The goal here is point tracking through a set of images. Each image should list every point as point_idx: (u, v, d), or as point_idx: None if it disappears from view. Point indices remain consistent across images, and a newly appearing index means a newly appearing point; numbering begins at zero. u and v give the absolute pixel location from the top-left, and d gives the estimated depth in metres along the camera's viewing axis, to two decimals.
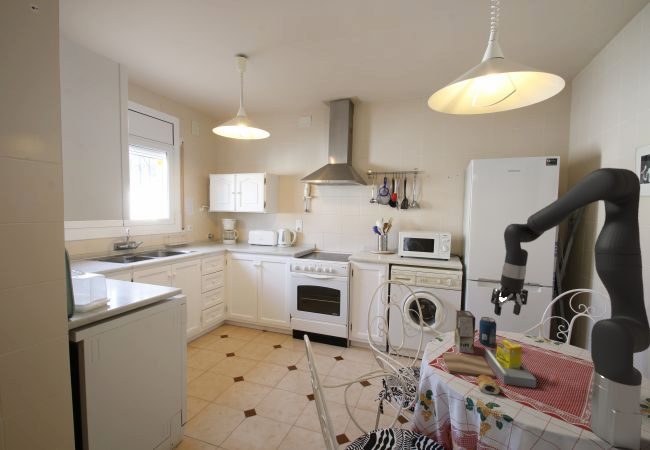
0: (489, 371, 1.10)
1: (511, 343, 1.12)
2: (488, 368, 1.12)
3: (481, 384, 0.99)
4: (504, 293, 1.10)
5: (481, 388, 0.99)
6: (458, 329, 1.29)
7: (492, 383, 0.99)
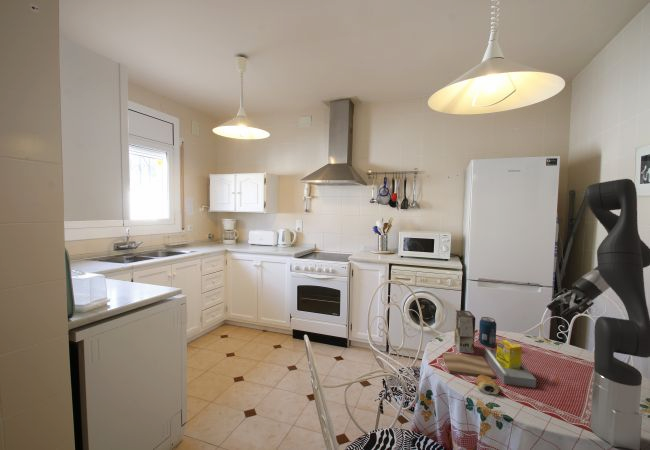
0: (489, 371, 1.10)
1: (511, 343, 1.12)
2: (488, 368, 1.12)
3: (480, 384, 0.99)
4: (567, 292, 1.10)
5: (480, 388, 0.99)
6: (458, 329, 1.29)
7: (491, 383, 0.99)
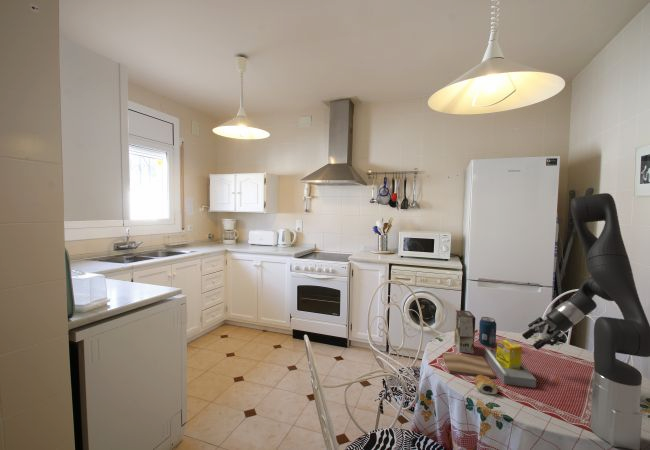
0: (489, 371, 1.10)
1: (511, 343, 1.12)
2: (488, 368, 1.12)
3: (479, 384, 0.99)
4: (542, 322, 1.13)
5: (479, 388, 0.99)
6: (458, 329, 1.29)
7: (490, 383, 0.99)
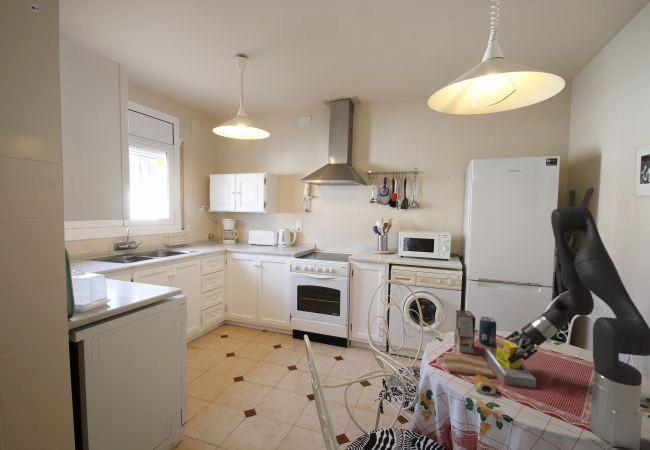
0: (489, 371, 1.10)
1: (511, 343, 1.12)
2: (488, 368, 1.12)
3: (478, 384, 0.99)
4: (517, 335, 1.15)
5: (478, 389, 0.98)
6: (458, 329, 1.29)
7: (488, 383, 0.99)
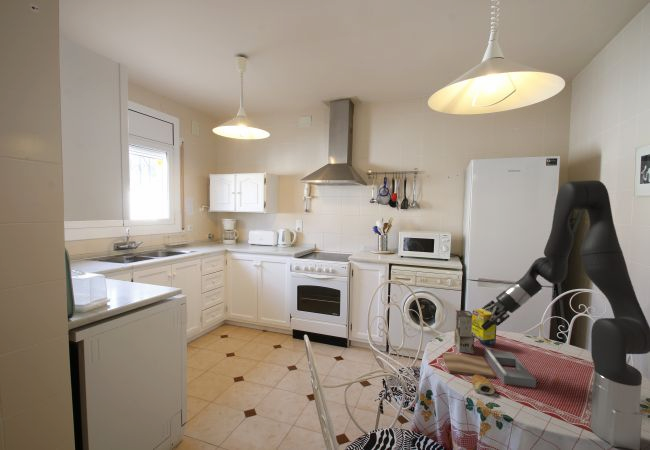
0: (489, 371, 1.10)
1: (486, 311, 1.14)
2: (488, 368, 1.12)
3: (476, 385, 0.99)
4: None
5: (477, 389, 0.98)
6: (458, 329, 1.29)
7: (487, 383, 0.98)
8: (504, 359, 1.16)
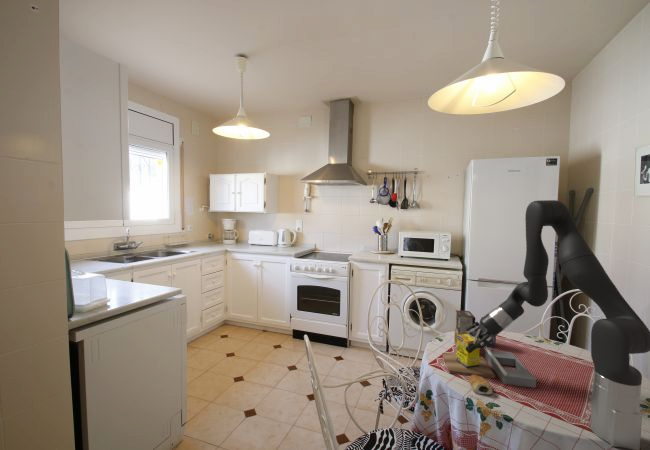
0: (489, 371, 1.10)
1: (471, 337, 1.15)
2: (488, 368, 1.12)
3: (475, 385, 0.99)
4: (477, 326, 1.17)
5: (475, 389, 0.98)
6: (458, 329, 1.29)
7: (485, 383, 0.98)
8: (504, 359, 1.16)
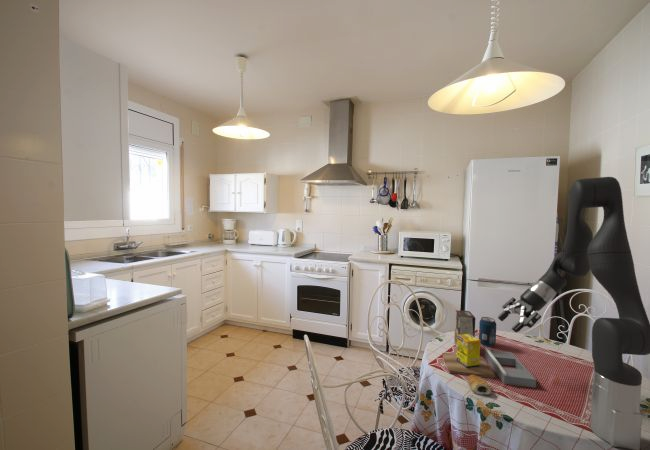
0: (489, 371, 1.10)
1: (471, 337, 1.15)
2: (488, 368, 1.12)
3: (473, 385, 0.99)
4: (516, 302, 1.13)
5: (474, 389, 0.98)
6: (458, 329, 1.29)
7: (484, 383, 0.98)
8: (504, 359, 1.16)
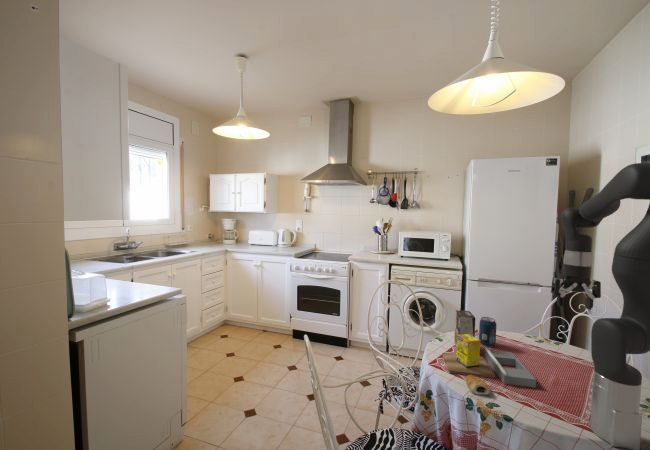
0: (489, 371, 1.10)
1: (471, 337, 1.15)
2: (488, 368, 1.12)
3: (472, 386, 0.98)
4: (566, 282, 1.03)
5: (473, 390, 0.98)
6: (458, 329, 1.29)
7: (482, 383, 0.98)
8: (504, 359, 1.16)
